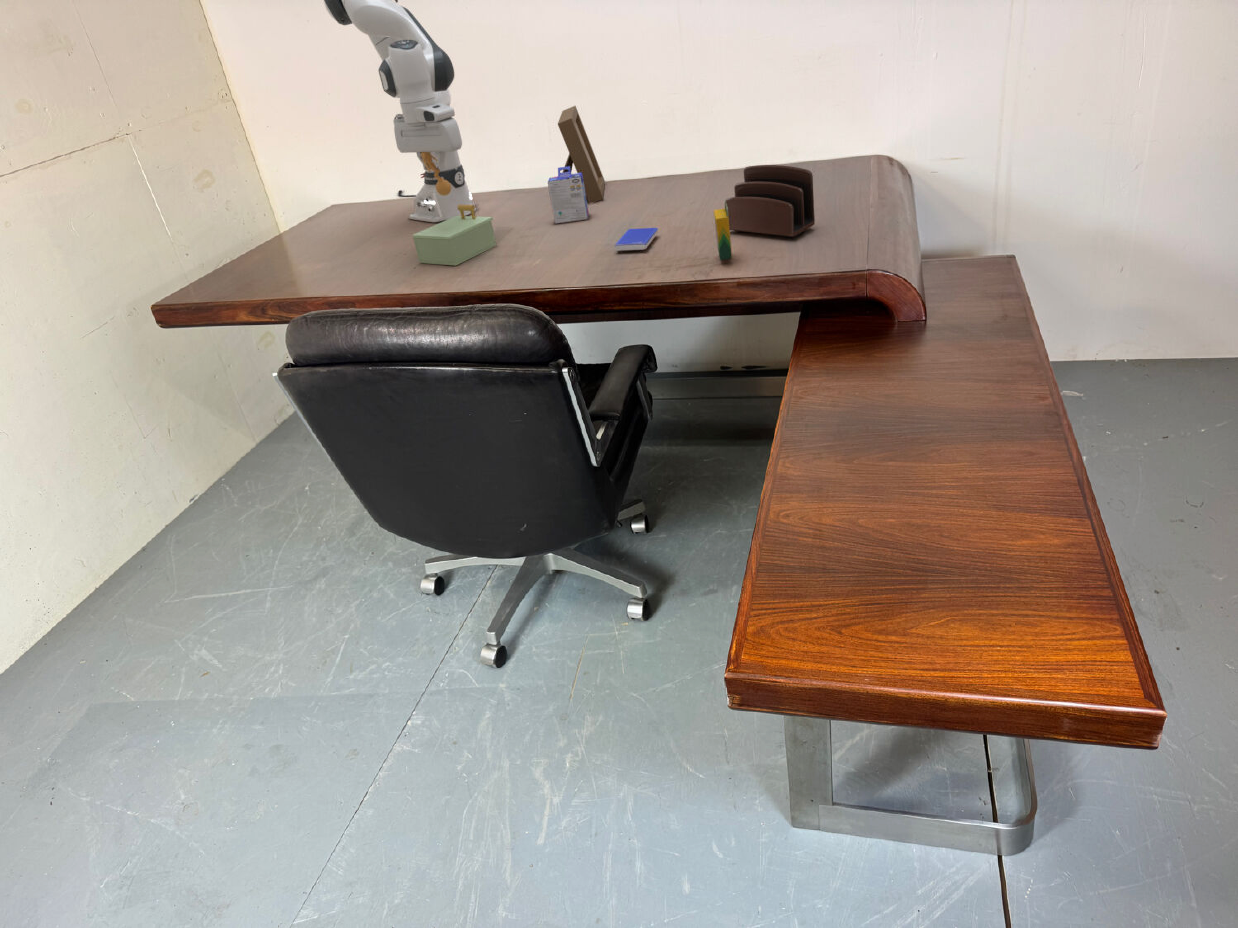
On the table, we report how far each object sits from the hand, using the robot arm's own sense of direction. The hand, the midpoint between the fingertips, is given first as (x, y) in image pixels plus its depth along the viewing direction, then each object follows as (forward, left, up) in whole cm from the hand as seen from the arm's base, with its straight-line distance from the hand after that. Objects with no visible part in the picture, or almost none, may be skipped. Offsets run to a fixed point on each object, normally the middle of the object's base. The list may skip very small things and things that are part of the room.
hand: (434, 169), depth 217 cm
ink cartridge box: (+15, +34, -23) cm, 44 cm away
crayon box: (+76, +11, -23) cm, 80 cm away
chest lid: (0, +2, -16) cm, 16 cm away
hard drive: (+48, +17, -23) cm, 56 cm away
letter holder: (+78, +32, -23) cm, 87 cm away
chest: (0, +1, -23) cm, 23 cm away
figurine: (0, 0, -7) cm, 7 cm away
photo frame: (+2, +57, -23) cm, 62 cm away
